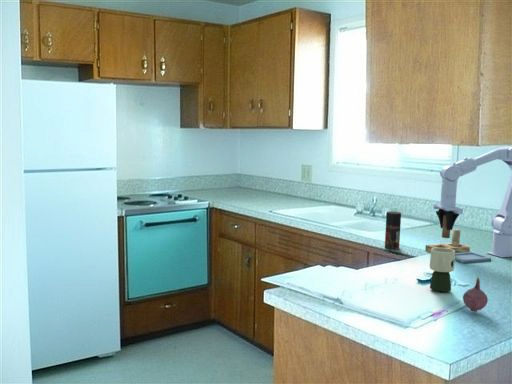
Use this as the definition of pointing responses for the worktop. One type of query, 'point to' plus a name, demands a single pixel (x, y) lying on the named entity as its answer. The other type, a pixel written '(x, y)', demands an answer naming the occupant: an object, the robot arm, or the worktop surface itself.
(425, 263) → the worktop surface
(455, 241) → the birch dowel
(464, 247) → the holder block
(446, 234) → the walnut dowel
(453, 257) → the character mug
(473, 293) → the vegetable
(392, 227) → the deodorant
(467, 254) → the tray
